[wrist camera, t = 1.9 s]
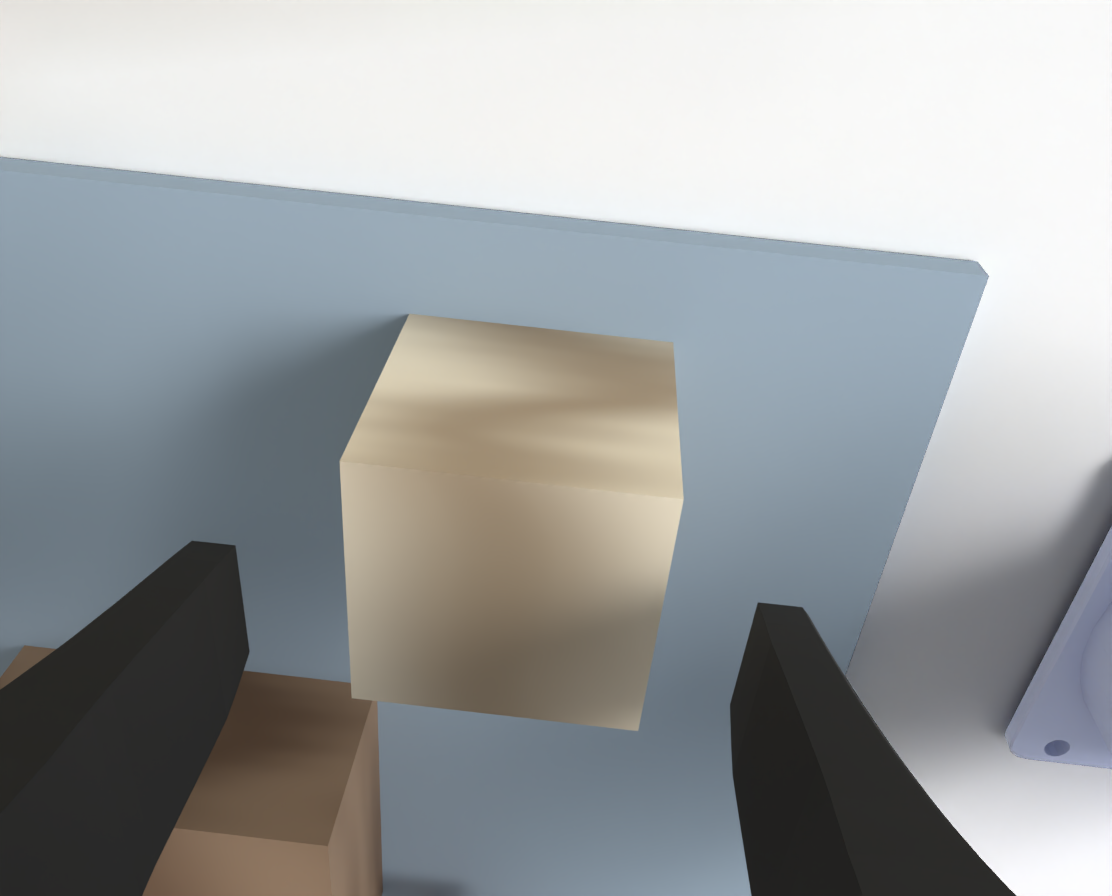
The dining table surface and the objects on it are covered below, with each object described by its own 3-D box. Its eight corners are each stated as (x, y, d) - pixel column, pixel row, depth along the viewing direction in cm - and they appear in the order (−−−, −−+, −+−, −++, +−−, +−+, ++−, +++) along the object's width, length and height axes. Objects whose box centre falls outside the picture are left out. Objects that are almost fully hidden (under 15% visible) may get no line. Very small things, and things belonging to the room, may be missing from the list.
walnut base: (377, 685, 21) (327, 845, 18) (382, 891, 26) (344, 1050, 22) (24, 645, 21) (-90, 797, 18) (91, 856, 26) (9, 1009, 22)
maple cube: (673, 342, 16) (683, 498, 12) (638, 548, 18) (637, 731, 15) (409, 313, 16) (339, 461, 12) (409, 522, 19) (351, 698, 15)
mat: (977, 262, 16) (988, 276, 15) (742, 933, 26) (744, 954, 26) (-341, 121, 16) (-373, 130, 15) (-32, 841, 27) (-45, 861, 26)
